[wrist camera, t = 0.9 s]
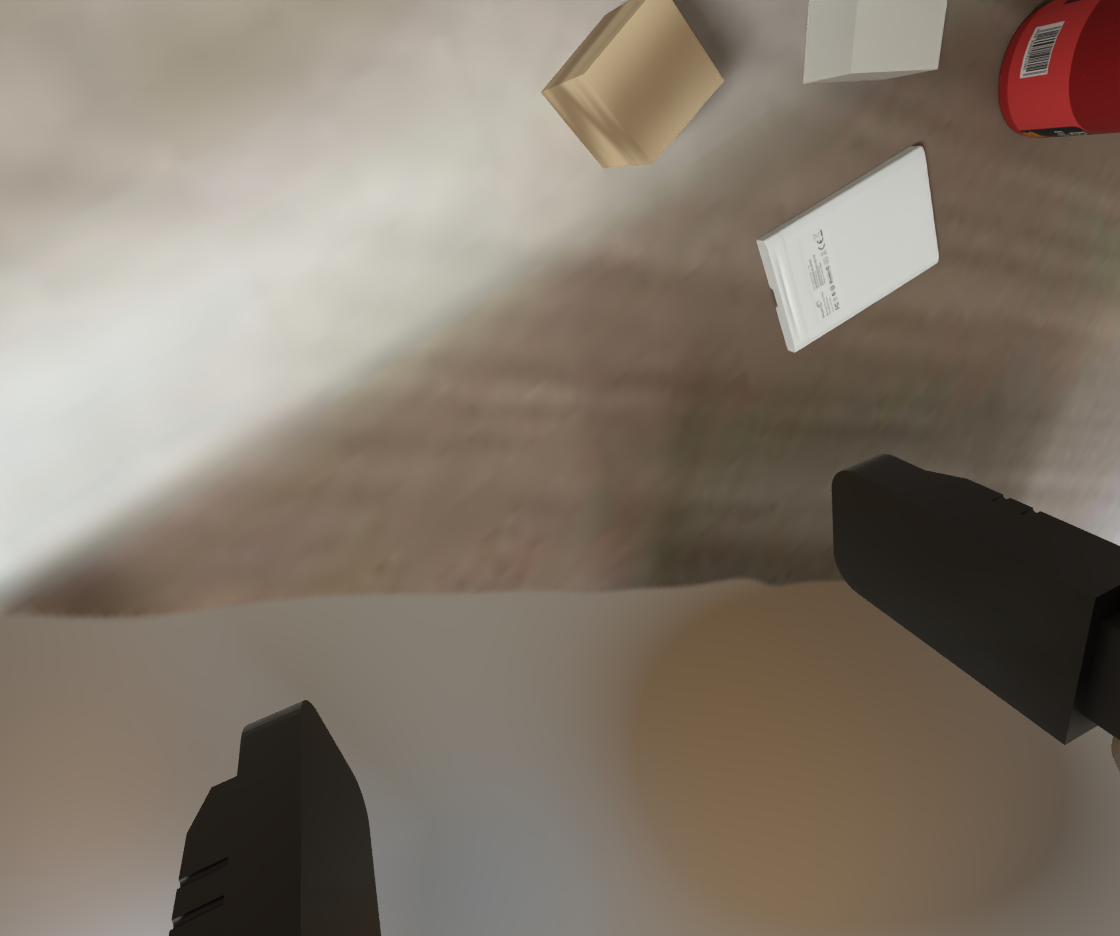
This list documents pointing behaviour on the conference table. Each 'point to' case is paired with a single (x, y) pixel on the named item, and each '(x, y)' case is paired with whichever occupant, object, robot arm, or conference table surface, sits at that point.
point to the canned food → (1064, 71)
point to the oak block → (634, 83)
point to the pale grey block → (872, 39)
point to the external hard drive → (851, 248)
